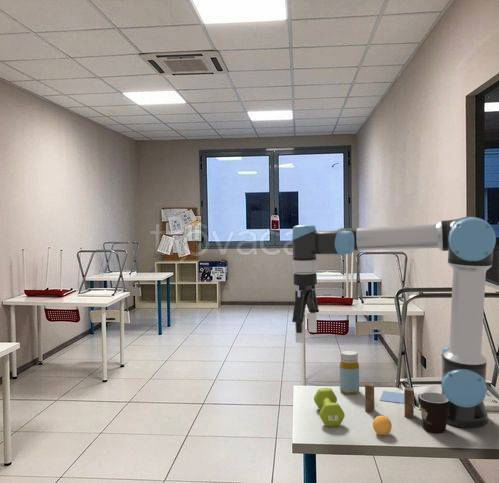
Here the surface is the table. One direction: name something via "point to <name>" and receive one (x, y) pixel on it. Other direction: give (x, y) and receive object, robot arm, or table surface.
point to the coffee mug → (434, 411)
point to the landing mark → (392, 397)
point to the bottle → (349, 372)
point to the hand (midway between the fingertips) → (306, 337)
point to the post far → (369, 397)
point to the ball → (382, 425)
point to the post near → (409, 401)
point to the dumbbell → (329, 407)
